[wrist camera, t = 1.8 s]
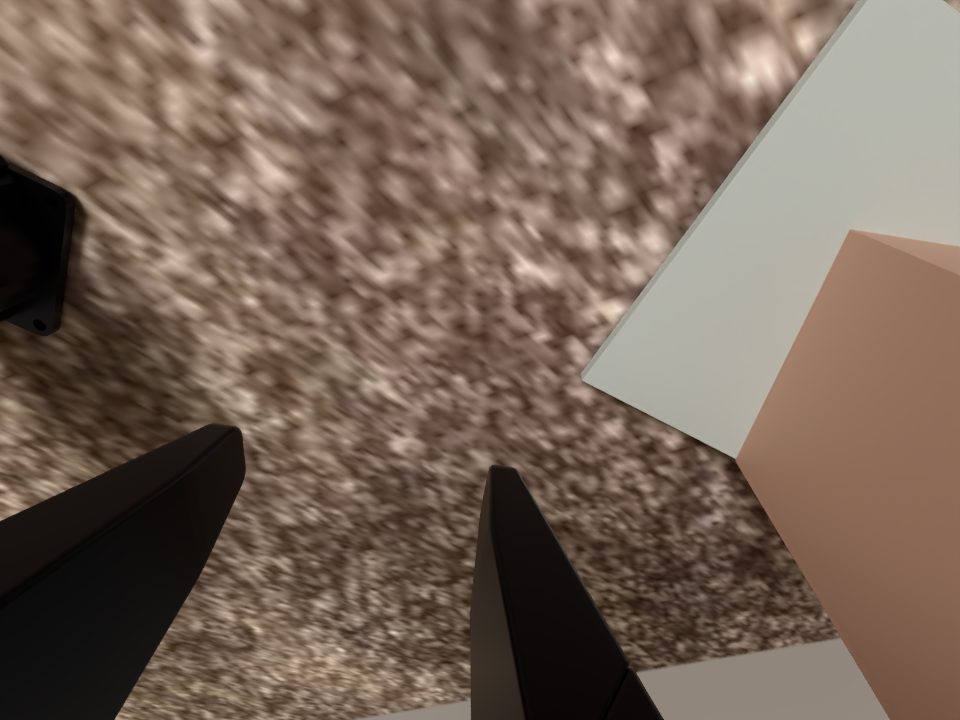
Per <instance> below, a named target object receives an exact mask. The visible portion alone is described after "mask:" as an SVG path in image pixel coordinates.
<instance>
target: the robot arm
mask: <svg viewBox="0 0 960 720" xmlns="http://www.w3.org/2000/svg"><path fill="white" fill-rule="evenodd" d="M54 198H56V199H57V201H58V202H59V206H60V207H59V206H58V205H57V204H56V203H55V201H54ZM74 211H75V202H74V200H73V198H72V196H71V195H70V194H69V193H68V192H67V191H66V190H64V189H63V188H61V187H59V186H57V185H55V184H53V183H51V182H49V181H46V180H44V179H42V178H40V177H38V176H36V175H34V174H32V173H30V172H28V171H26V170H24V169H22V168H20V167H18V166H16V165H13V164H11V163H9V162H8V161H7V160H6V159H5V158H4V157H3V156H1V155H0V322H2V321H4V320H5V321H7V322H10V323H12V324H14V325H17V326H19V327H21V328H24V329H26V330H28V331H31V332H33V333H35V334H38V335H41V336H48V335H50V334H52V333H54V332H56V331H57V330H59V328H60V322H61V314H62V306H63V298H64V290H65V283H66V275H67V267H68V259H69V251H70V243H71V235H72V227H73V219H74ZM42 322H43V323H44V324H45V325H44V324H43V323H42ZM245 471H246V466H245V456H244V447H243V437H242V433H241V430H240V429H239V428H238V427H236V426H230V425H223V424H217V423H212V424H209V425H206V426H204V427H202V428H200V429H198V430H195V431H193V432H191V433H189V434H187V435H185V436H182V437H180V438H178V439H176V440H174V441H172V442H170V443H167V444H165V445H163V446H161V447H159V448H157V449H154V450H152V451H150V452H148V453H146V454H144V455H142V456H139V457H137V458H135V459H133V460H131V461H129V462H127V463H124V464H122V465H120V466H118V467H116V468H114V469H111V470H109V471H107V472H105V473H103V474H101V475H99V476H96V477H94V478H92V479H90V480H88V481H86V482H84V483H81V484H79V485H77V486H75V487H73V488H71V489H68V490H66V491H64V492H62V493H60V494H58V495H56V496H53V497H51V498H49V499H47V500H45V501H43V502H40V503H38V504H36V505H34V506H32V507H30V508H28V509H25V510H23V511H21V512H19V513H17V514H15V515H12V516H10V517H8V518H6V519H4V520H2V521H0V720H115V718H116V716H117V715H118V713H119V711H120V709H121V708H122V706H123V704H124V703H125V701H126V699H127V698H128V696H129V694H130V693H131V691H132V689H133V688H134V686H135V684H136V683H137V681H138V679H139V677H140V676H141V674H142V672H143V671H144V669H145V667H146V666H147V664H148V662H149V661H150V659H151V657H152V656H153V654H154V652H155V651H156V649H157V647H158V645H159V644H160V642H161V640H162V639H163V637H164V635H165V634H166V632H167V630H168V629H169V627H170V625H171V624H172V622H173V620H174V619H175V617H176V615H177V614H178V612H179V610H180V608H181V607H182V605H183V603H184V602H185V600H186V598H187V597H188V595H189V593H190V592H191V590H192V588H193V586H194V585H195V583H196V581H197V579H198V578H199V576H200V574H201V572H202V570H203V568H204V566H205V564H206V562H207V560H208V558H209V556H210V553H211V551H212V549H213V547H214V545H215V542H216V540H217V538H218V536H219V534H220V532H221V529H222V527H223V525H224V523H225V521H226V518H227V516H228V514H229V512H230V510H231V508H232V505H233V503H234V501H235V499H236V497H237V494H238V492H239V490H240V488H241V486H242V483H243V481H244V477H245ZM470 662H471V720H664V719H663V717H662V716H661V714H660V712H659V711H658V709H657V708H656V706H655V704H654V703H653V701H652V699H651V698H650V696H649V694H648V693H647V691H646V689H645V687H644V686H643V684H642V682H641V680H640V679H639V677H638V676H637V674H636V672H635V670H634V669H632V668H630V669H628V668H629V666H630V663H629V660H628V659H627V657H626V655H625V654H624V652H623V650H622V648H621V647H620V645H619V643H618V642H617V640H616V638H615V636H614V635H613V633H612V631H611V630H610V628H609V626H608V624H607V623H606V621H605V619H604V618H603V616H602V614H601V612H600V611H599V609H598V607H597V606H596V604H595V602H594V601H593V599H592V597H591V595H590V594H589V592H588V590H587V589H586V587H585V585H584V583H583V582H582V580H581V578H580V577H579V575H578V573H577V571H576V570H575V568H574V566H573V565H572V563H571V561H570V559H569V558H568V556H567V554H566V553H565V551H564V549H563V548H562V546H561V544H560V542H559V541H558V539H557V537H556V536H555V534H554V532H553V530H552V529H551V527H550V525H549V524H548V522H547V520H546V518H545V517H544V515H543V513H542V512H541V510H540V508H539V507H538V505H537V503H536V501H535V500H534V498H533V496H532V495H531V493H530V491H529V489H528V488H527V486H526V484H525V483H524V481H523V479H522V477H521V476H520V474H519V472H518V471H517V470H516V469H515V468H511V467H505V466H498V465H492V466H491V467H490V468H489V471H488V476H487V481H486V486H485V491H484V496H483V501H482V507H481V513H480V522H479V531H478V541H477V550H476V559H475V569H474V578H473V587H472V597H471V610H470Z"/></svg>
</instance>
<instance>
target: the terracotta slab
mask: <svg viewBox="0 0 960 720" xmlns="http://www.w3.org/2000/svg"><path fill="white" fill-rule="evenodd" d="M735 461H736V463H737V465H738V466H739V468H740V470H741V471H742V473H743V475H744V476H745V478H746V480H747V481H748V483H749V485H750V486H751V488H752V490H753V491H754V493H755V495H756V496H757V498H758V500H759V501H760V503H761V505H762V506H763V508H764V510H765V511H766V513H767V515H768V516H769V518H770V520H771V521H772V523H773V525H774V526H775V528H776V530H777V531H778V533H779V535H780V536H781V538H782V540H783V541H784V543H785V545H786V546H787V548H788V550H789V551H790V553H791V555H792V557H793V558H794V560H795V562H796V563H797V565H798V567H799V568H800V570H801V572H802V573H803V575H804V577H805V578H806V580H807V582H808V583H809V585H810V587H811V588H812V590H813V592H814V593H815V595H816V597H817V598H818V600H819V602H820V603H821V605H822V607H823V608H824V610H825V612H826V613H827V615H828V617H829V618H830V620H831V622H832V623H833V625H834V627H835V628H836V630H837V632H838V633H839V635H840V637H841V638H842V640H843V642H844V643H845V645H846V647H847V648H848V650H849V652H850V653H851V655H852V657H853V658H854V660H855V662H856V663H857V665H858V667H859V669H860V670H861V672H862V673H863V675H864V677H865V679H866V680H867V682H868V684H869V685H870V687H871V688H872V690H873V692H874V694H875V695H876V697H877V698H878V700H879V702H880V704H881V705H882V707H883V709H884V710H885V712H886V714H887V715H888V717H889V718H890V720H960V247H959V246H953V245H947V244H940V243H934V242H928V241H921V240H915V239H909V238H902V237H896V236H890V235H884V234H877V233H871V232H865V231H858V230H852V229H850V230H849V232H848V234H847V236H846V238H845V240H844V242H843V244H842V246H841V248H840V250H839V252H838V254H837V256H836V258H835V260H834V262H833V264H832V266H831V268H830V270H829V272H828V274H827V276H826V278H825V280H824V282H823V284H822V287H821V289H820V291H819V293H818V295H817V297H816V299H815V301H814V303H813V305H812V307H811V309H810V311H809V313H808V315H807V317H806V319H805V321H804V323H803V325H802V327H801V329H800V331H799V333H798V335H797V337H796V339H795V341H794V343H793V345H792V347H791V349H790V351H789V353H788V355H787V357H786V359H785V361H784V363H783V365H782V367H781V369H780V371H779V373H778V375H777V377H776V379H775V381H774V383H773V385H772V387H771V389H770V391H769V393H768V395H767V397H766V399H765V401H764V403H763V405H762V407H761V409H760V411H759V413H758V415H757V417H756V420H755V422H754V424H753V426H752V428H751V430H750V432H749V434H748V436H747V438H746V440H745V442H744V444H743V446H742V448H741V450H740V452H739V454H738V456H737V458H736V460H735Z"/></svg>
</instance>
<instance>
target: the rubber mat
mask: <svg viewBox="0 0 960 720" xmlns="http://www.w3.org/2000/svg"><path fill="white" fill-rule="evenodd" d="M850 229H852V230H858V231H865V232H871V233H877V234H884V235H890V236H896V237H902V238H909V239H915V240H921V241H928V242H934V243H940V244H947V245H953V246H959V247H960V13H959V12H957V11H956V10H955V9H954V8H952V7H951V6H950V5H949V4H947V3H946V2H945V1H944V0H858V2H857V3H856V4H855V6H854V7H853V8H852V10H851V11H850V12H849V14H848V15H847V16H846V18H845V19H844V20H843V22H842V23H841V24H840V26H839V27H838V29H837V30H836V31H835V33H834V34H833V35H832V37H831V38H830V39H829V41H828V42H827V43H826V45H825V46H824V47H823V49H822V50H821V51H820V53H819V54H818V55H817V57H816V58H815V59H814V61H813V62H812V63H811V65H810V66H809V68H808V69H807V70H806V72H805V73H804V74H803V76H802V77H801V78H800V80H799V81H798V82H797V84H796V85H795V86H794V88H793V89H792V90H791V92H790V93H789V94H788V96H787V97H786V98H785V100H784V101H783V102H782V104H781V105H780V107H779V108H778V109H777V111H776V112H775V113H774V115H773V116H772V117H771V119H770V120H769V121H768V123H767V124H766V125H765V127H764V128H763V129H762V131H761V132H760V133H759V135H758V136H757V137H756V139H755V140H754V141H753V143H752V144H751V145H750V147H749V148H748V150H747V151H746V152H745V154H744V155H743V156H742V158H741V159H740V160H739V162H738V163H737V164H736V166H735V167H734V168H733V170H732V171H731V172H730V174H729V175H728V176H727V178H726V179H725V180H724V182H723V183H722V184H721V186H720V187H719V189H718V190H717V191H716V193H715V194H714V195H713V197H712V198H711V199H710V201H709V202H708V203H707V205H706V206H705V207H704V209H703V210H702V211H701V213H700V214H699V215H698V217H697V218H696V219H695V221H694V222H693V223H692V225H691V226H690V228H689V229H688V230H687V232H686V233H685V234H684V236H683V237H682V238H681V240H680V241H679V242H678V244H677V245H676V246H675V248H674V249H673V250H672V252H671V253H670V254H669V256H668V257H667V258H666V260H665V261H664V262H663V264H662V265H661V266H660V268H659V269H658V271H657V272H656V273H655V275H654V276H653V277H652V279H651V280H650V281H649V283H648V284H647V285H646V287H645V288H644V289H643V291H642V292H641V293H640V295H639V296H638V297H637V299H636V300H635V301H634V303H633V304H632V305H631V307H630V308H629V310H628V311H627V312H626V314H625V315H624V316H623V318H622V319H621V320H620V322H619V323H618V324H617V326H616V327H615V328H614V330H613V331H612V332H611V334H610V335H609V336H608V338H607V339H606V340H605V342H604V343H603V344H602V346H601V347H600V349H599V350H598V351H597V353H596V354H595V355H594V357H593V358H592V359H591V361H590V362H589V363H588V365H587V366H586V367H585V369H584V370H583V371H582V373H581V374H580V375H581V379H582V381H584V382H586V383H588V384H590V385H592V386H594V387H596V388H598V389H600V390H602V391H604V392H605V393H607V394H609V395H611V396H613V397H615V398H617V399H619V400H621V401H623V402H625V403H627V404H629V405H631V406H633V407H635V408H637V409H639V410H641V411H643V412H645V413H647V414H649V415H651V416H653V417H655V418H657V419H658V420H660V421H662V422H664V423H666V424H668V425H670V426H672V427H674V428H676V429H678V430H680V431H682V432H684V433H686V434H688V435H690V436H692V437H694V438H696V439H698V440H700V441H702V442H704V443H706V444H708V445H709V446H711V447H713V448H715V449H717V450H719V451H721V452H723V453H725V454H727V455H729V456H731V457H733V458H735V459H736V458H737V456H738V454H739V452H740V450H741V448H742V446H743V444H744V442H745V440H746V438H747V436H748V434H749V432H750V430H751V428H752V426H753V424H754V422H755V420H756V417H757V415H758V413H759V411H760V409H761V407H762V405H763V403H764V401H765V399H766V397H767V395H768V393H769V391H770V389H771V387H772V385H773V383H774V381H775V379H776V377H777V375H778V373H779V371H780V369H781V367H782V365H783V363H784V361H785V359H786V357H787V355H788V353H789V351H790V349H791V347H792V345H793V343H794V341H795V339H796V337H797V335H798V333H799V331H800V329H801V327H802V325H803V323H804V321H805V319H806V317H807V315H808V313H809V311H810V309H811V307H812V305H813V303H814V301H815V299H816V297H817V295H818V293H819V291H820V289H821V287H822V284H823V282H824V280H825V278H826V276H827V274H828V272H829V270H830V268H831V266H832V264H833V262H834V260H835V258H836V256H837V254H838V252H839V250H840V248H841V246H842V244H843V242H844V240H845V238H846V236H847V234H848V232H849V230H850Z"/></svg>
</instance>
